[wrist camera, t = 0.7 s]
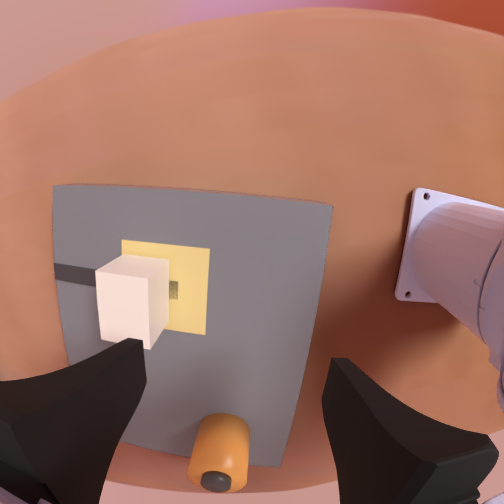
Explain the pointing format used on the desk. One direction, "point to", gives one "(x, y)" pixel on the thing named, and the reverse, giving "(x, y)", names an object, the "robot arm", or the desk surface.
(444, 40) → the desk surface
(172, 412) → the panel
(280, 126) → the desk surface
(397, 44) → the desk surface
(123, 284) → the lever
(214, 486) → the cap
